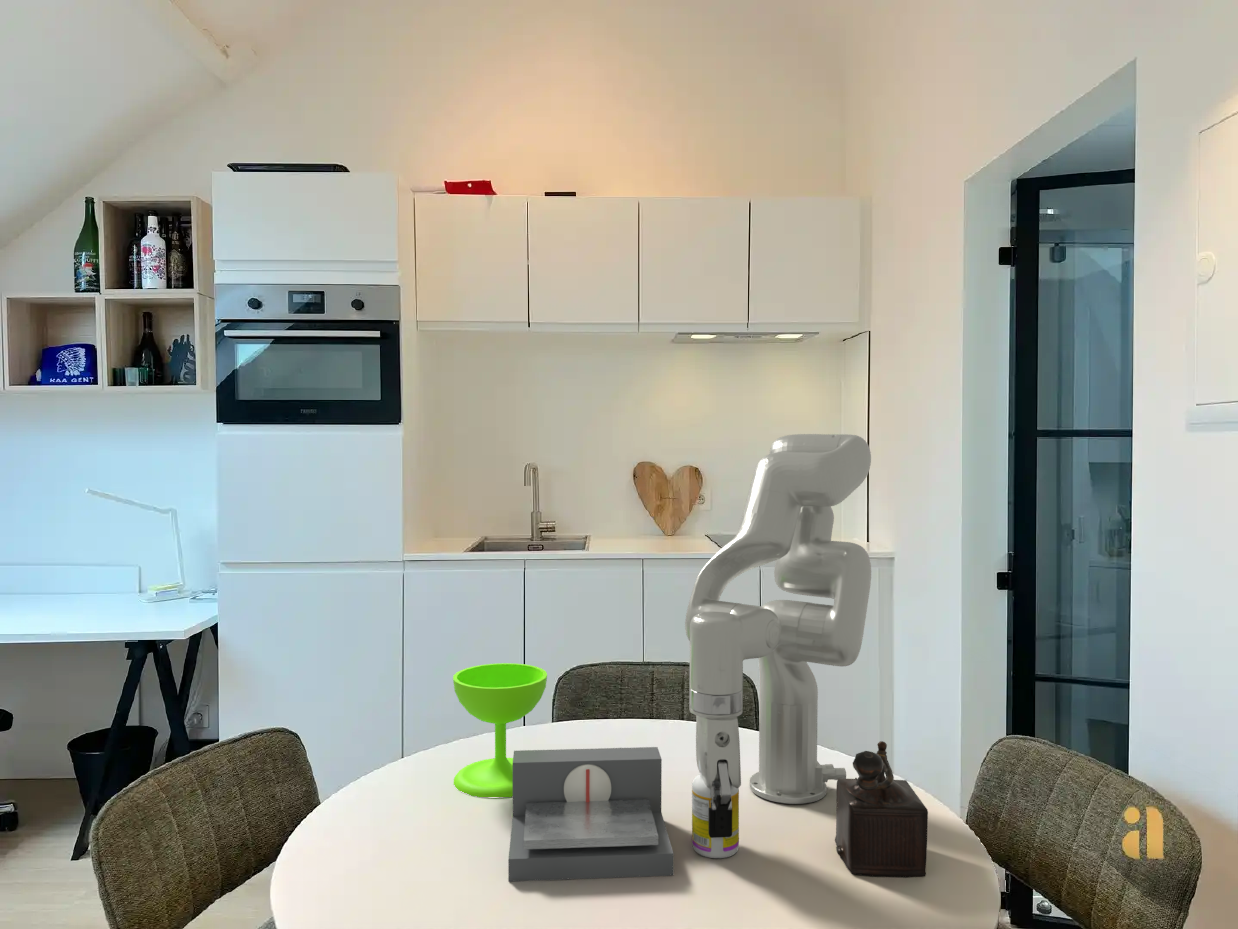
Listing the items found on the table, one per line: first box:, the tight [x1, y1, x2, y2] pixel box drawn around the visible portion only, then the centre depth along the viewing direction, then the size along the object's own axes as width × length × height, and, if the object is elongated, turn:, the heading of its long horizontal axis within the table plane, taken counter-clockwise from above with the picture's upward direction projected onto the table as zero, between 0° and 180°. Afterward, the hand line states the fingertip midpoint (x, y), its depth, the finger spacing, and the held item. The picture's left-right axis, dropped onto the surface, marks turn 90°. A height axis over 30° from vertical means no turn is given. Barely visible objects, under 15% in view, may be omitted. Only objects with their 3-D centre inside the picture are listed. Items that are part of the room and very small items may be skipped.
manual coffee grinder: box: [834, 740, 929, 878], centre depth 120 cm, size 16×11×18 cm
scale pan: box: [524, 799, 658, 849], centre depth 124 cm, size 18×12×1 cm, turn 94°
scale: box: [507, 746, 674, 882], centre depth 126 cm, size 22×18×11 cm
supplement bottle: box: [691, 761, 740, 859], centre depth 126 cm, size 7×7×13 cm
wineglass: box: [452, 662, 548, 798], centre depth 151 cm, size 16×16×18 cm
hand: (715, 823), depth 126 cm, fingers closed on supplement bottle, 6 cm apart
